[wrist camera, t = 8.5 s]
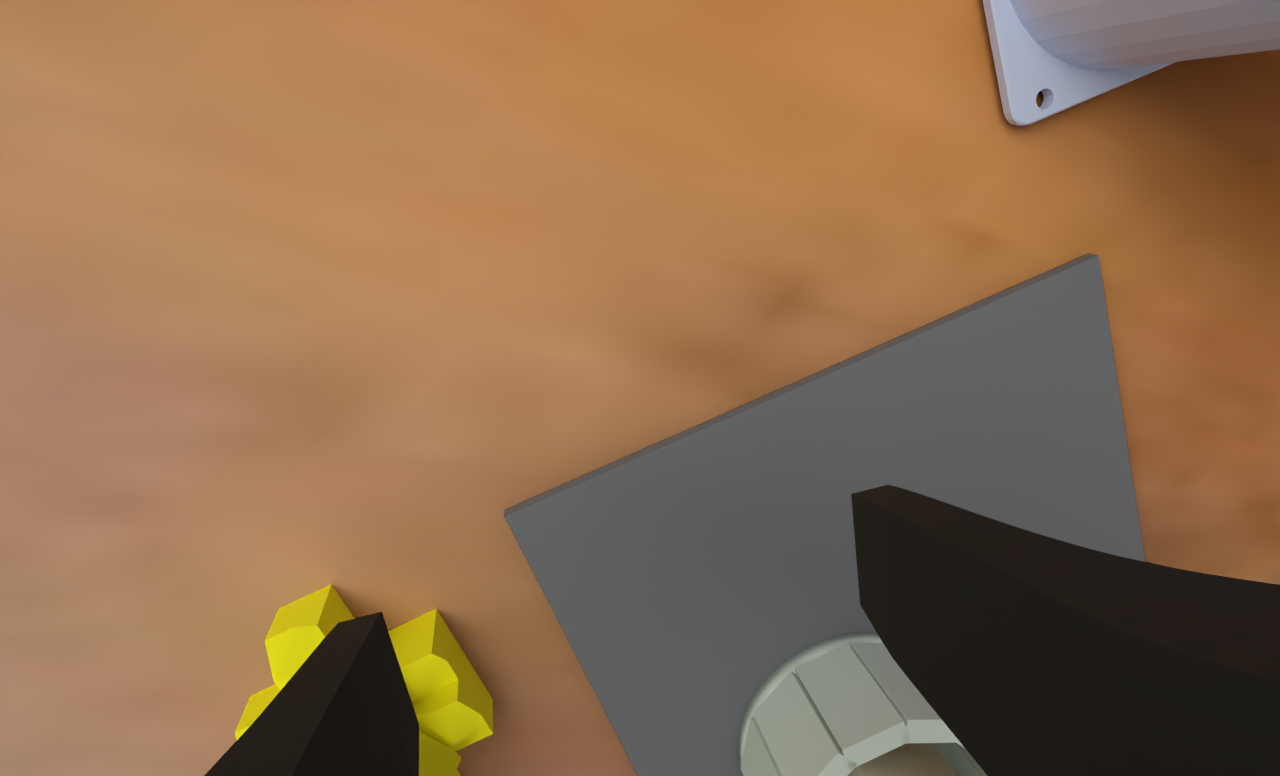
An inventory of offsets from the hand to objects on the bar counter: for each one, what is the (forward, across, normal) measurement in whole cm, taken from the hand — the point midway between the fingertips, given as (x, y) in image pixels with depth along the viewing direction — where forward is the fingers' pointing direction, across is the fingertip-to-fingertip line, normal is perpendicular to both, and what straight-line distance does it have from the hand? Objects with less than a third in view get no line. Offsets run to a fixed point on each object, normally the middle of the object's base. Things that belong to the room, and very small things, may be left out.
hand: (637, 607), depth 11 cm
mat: (+10, -9, +10) cm, 17 cm away
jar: (+10, -7, +14) cm, 18 cm away
